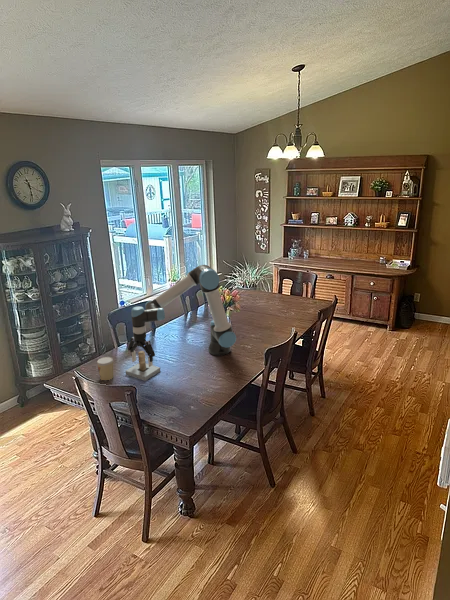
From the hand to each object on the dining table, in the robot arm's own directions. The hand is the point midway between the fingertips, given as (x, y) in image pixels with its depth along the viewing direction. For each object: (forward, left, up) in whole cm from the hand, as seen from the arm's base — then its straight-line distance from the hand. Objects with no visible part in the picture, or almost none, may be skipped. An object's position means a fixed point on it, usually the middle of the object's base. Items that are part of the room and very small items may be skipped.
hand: (142, 363), depth 252 cm
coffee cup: (+15, +16, -7) cm, 23 cm away
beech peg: (0, 0, -6) cm, 6 cm away
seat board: (0, 0, -6) cm, 6 cm away
